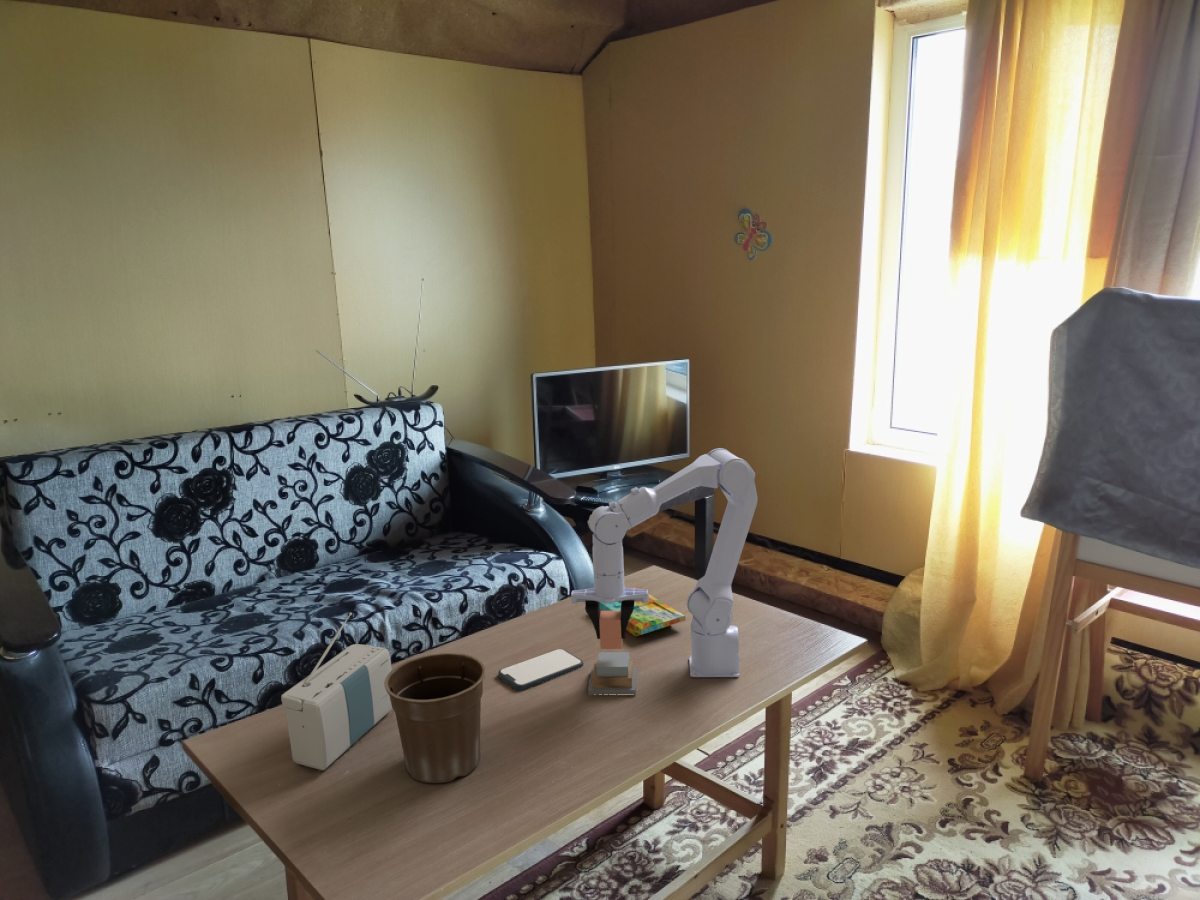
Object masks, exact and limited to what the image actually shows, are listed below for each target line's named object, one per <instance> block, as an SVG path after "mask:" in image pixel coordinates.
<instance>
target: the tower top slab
mask: <svg viewBox="0 0 1200 900" xmlns="http://www.w3.org/2000/svg"><path fill="white" fill-rule="evenodd" d="M597 655H598V656H597V660H598V661H597V677H614V676H629V665H630V659H631V656H630V651H622V652H621V651H620V652H619V651H617V652H616V651H615V652H614V651H612V652H611V651H606V652H605V651H604V652H602V651H601V652H598V654H597Z"/></svg>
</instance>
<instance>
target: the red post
mask: <svg viewBox="0 0 1200 900" xmlns="http://www.w3.org/2000/svg"><path fill="white" fill-rule="evenodd" d="M599 624H600V639H599V640H600V641H599V642H600V643H599V644H600V650H622V648H623V640H624V639H622V637H621V629H622V620H621V611H601V613H600V619H599Z"/></svg>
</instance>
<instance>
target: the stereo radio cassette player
mask: <svg viewBox="0 0 1200 900" xmlns="http://www.w3.org/2000/svg"><path fill="white" fill-rule="evenodd" d="M352 615H353V613H352V612H349V613H348V616H347V617H346V619H345V621H344V622H343V624H342V625H341V627H340V628H339V629H338V631H337V632H336V633H335V635H334V637H333V638H332V640H331V641H330V643H329V644H328V646H327V648H326V649H325V651H324V652H323V654H322V656H321V657H320V659H319V660H318V662H317V663H316V665H315V666H314V668H313V670H311V673H310V674H309V675H307V676H306V677H305V678H303V679H302V680H301V681H299V682H297V684H295V685H293V686H292V687H291V688H289V689H287V690H286V691H285V692H284V693H283V694H281V698H280V699H281V703H282V706H283V707H284V709H285V714H286V715H285V716H286V721H287V728H288V729H287V731H288V736H289V743H290V749H291V755H292V761H293V762H295V763H296V764H298V765H301V766H305V767H308V768H312V769H316V770H319V771H325V770H326V769H327V768H328V767H330V766H331V764H333V763H334V762H335V761H336V760H337V759H338V758H339V757H341V756H342V755H343V754H344V753H345V752H346V751H347V750H348V749H350V747H352V746H353V745H354V744H355V743H356V742H357V741H359V739H360V738H362V737H363V736H364V735H365V734H366V733H367V732H368V731H370V730H371V729H372V728H373V727H374V726H375V725H376V724H377V723H378V722H380V721H381V720H382V719H383V718H384V717H385V716H386V715H388V714H389V713H390V711H392V710H393V708H392V705H391V700H390V696H389V694H388V693H387V691H386V689H385V685H384V682H385V679H386V677H387V675H388V674H389V673H390V672H391V671H392V670H393V669H392V662H391V655H390V652H389V649H387V648H386V647H381V646H373V645H371V644H360V643H359V644H358V643H355V644H351V645H349V646H348V647H346V648H345V649H343V650H342V651H341V652H340V653H337V654H336V656H334V657H333V658H330V660H328V661H327V662H326V663H324V664H323V665H321V664H322V662H323V660H324V659H325V658H326V656H327V655H328V653H329V651H330V649H331V648H332V646H333V645H334V644H335V641H336V639H337V638H338V636H339V635H340V633H341V631H342V630H343V628H344V627H345V624H346V623H347V621H348V620H349V618H350V617H351V616H352ZM320 665H321V666H320Z"/></svg>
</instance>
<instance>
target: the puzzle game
mask: <svg viewBox="0 0 1200 900" xmlns="http://www.w3.org/2000/svg"><path fill="white" fill-rule="evenodd" d="M632 588H633V589H640V588H639V587H637V586H634V587H632ZM601 611H621V602H614V603H613V604H604V603H603V602H600V613H601ZM685 621H686V615H684V614H683V613H681V612H680V611H678V610H676V609H675V608H673V607H671V606H670V605H667V604H666V603H665V602H662V601H660V600H659V599H658V598H655V597H654V596H653V595H651V594H649V593H648V603H642V602H634V610H633V612H632V614H631V617H630V619H629V621H628V624H627V628H626V632H628V633H630V634H632V635H633V636H634V637H639V636H642V635H645V634H648V633H651V632H655V631H658V630H661V629H664V628H667V627H671V626H672V625H675V624H678V623H682V622H685Z"/></svg>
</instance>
